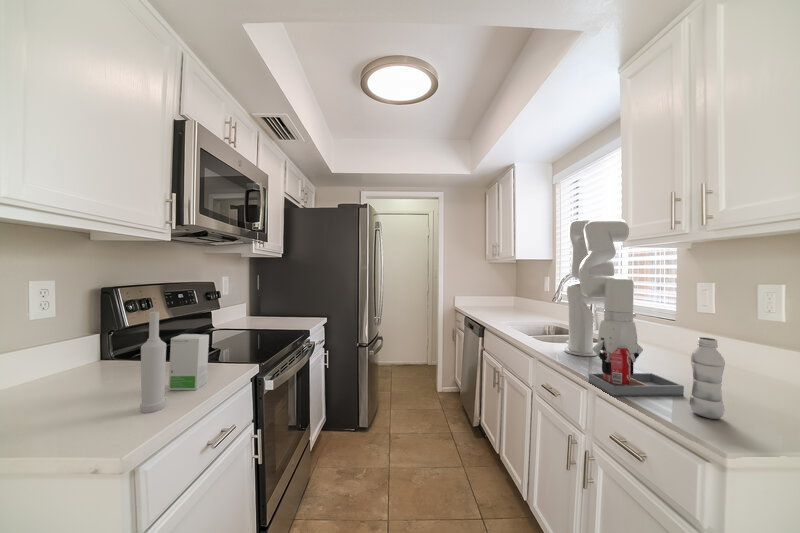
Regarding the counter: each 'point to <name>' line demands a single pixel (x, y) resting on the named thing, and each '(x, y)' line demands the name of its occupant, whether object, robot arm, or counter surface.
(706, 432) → the counter surface
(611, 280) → the robot arm
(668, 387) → the grey divided tray
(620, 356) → the soda can
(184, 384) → the skincare box
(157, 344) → the bottle
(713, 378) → the plastic bottle
